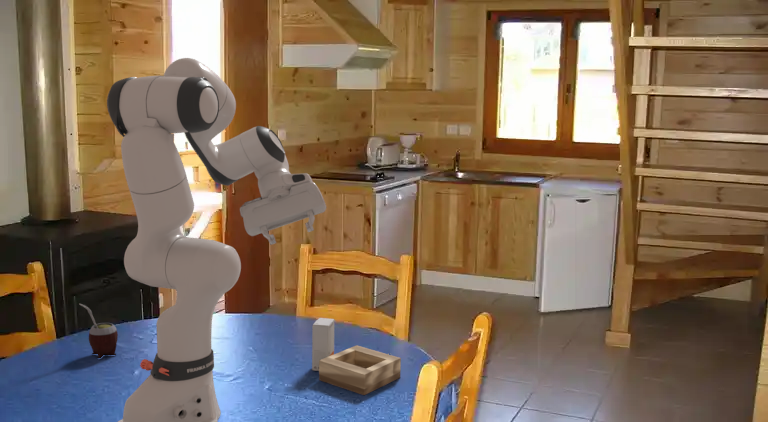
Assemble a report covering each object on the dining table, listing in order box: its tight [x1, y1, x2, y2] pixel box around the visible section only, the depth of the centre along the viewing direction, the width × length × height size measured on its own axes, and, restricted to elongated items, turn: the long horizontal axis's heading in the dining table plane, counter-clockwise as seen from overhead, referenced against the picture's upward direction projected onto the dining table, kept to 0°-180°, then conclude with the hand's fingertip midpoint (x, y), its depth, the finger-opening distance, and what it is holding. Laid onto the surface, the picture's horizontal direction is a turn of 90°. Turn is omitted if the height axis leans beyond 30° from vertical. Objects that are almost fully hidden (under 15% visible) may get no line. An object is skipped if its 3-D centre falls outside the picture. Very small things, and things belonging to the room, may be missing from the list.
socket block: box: [318, 345, 402, 396], centre depth 184 cm, size 14×14×5 cm
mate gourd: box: [78, 303, 119, 359], centre depth 196 cm, size 8×8×15 cm
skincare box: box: [311, 317, 335, 372], centre depth 190 cm, size 6×4×12 cm
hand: (291, 236), depth 180 cm, fingers open, 8 cm apart
